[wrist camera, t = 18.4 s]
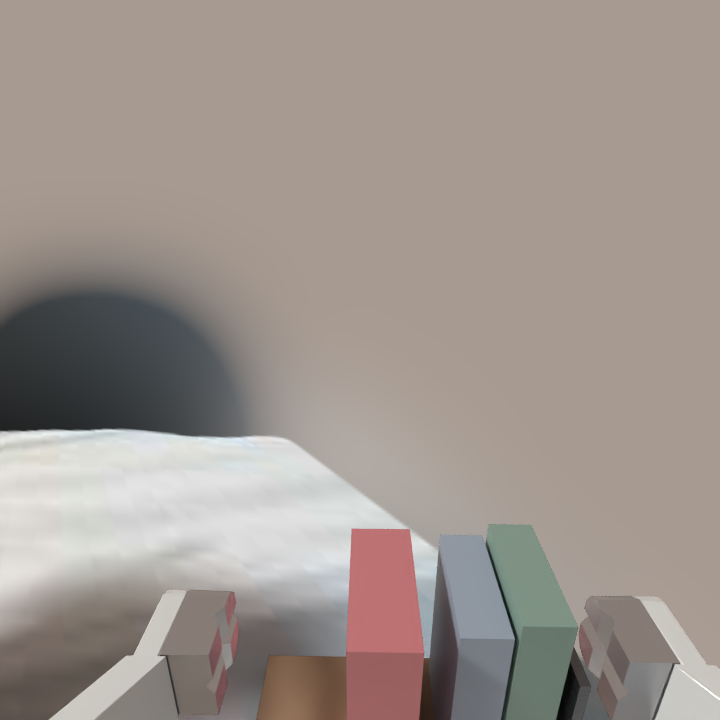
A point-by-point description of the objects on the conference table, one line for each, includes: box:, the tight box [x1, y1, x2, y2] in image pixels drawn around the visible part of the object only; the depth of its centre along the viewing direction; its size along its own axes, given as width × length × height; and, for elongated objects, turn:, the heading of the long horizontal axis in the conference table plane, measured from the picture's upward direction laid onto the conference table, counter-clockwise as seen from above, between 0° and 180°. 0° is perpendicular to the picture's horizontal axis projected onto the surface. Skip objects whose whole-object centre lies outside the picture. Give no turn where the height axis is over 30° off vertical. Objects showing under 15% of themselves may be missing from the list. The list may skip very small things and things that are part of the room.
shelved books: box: [429, 524, 578, 720], centre depth 32 cm, size 6×8×15 cm
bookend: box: [556, 647, 591, 720], centre depth 33 cm, size 1×9×11 cm, turn 0°
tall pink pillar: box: [346, 529, 424, 720], centre depth 31 cm, size 4×9×15 cm, turn 179°
